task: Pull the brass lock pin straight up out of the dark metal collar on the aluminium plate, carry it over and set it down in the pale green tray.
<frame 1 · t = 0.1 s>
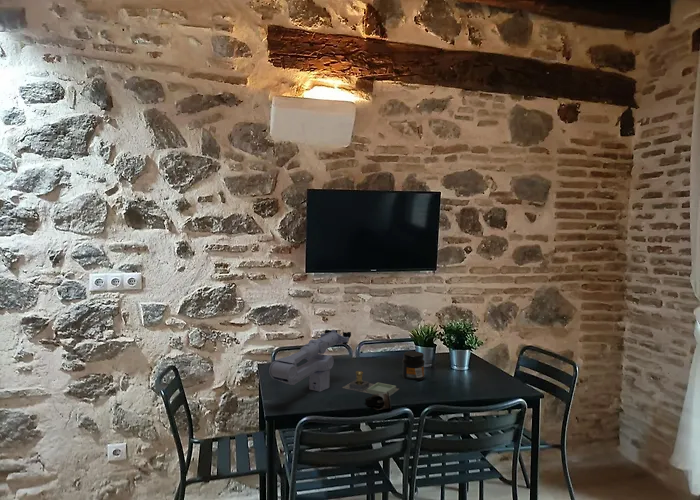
hand: (343, 333, 244), 22 cm above the table, tool horizontal, fingers open, 7 cm apart
tray: (381, 392, 225), resting on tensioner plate
caster wheel: (377, 407, 207), on the table
supplement container: (413, 378, 245), on the table
lock pin: (359, 385, 231), point 1 cm above the table, touching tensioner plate
tensioner collar: (359, 387, 231), resting on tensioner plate
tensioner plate: (370, 390, 227), on the table
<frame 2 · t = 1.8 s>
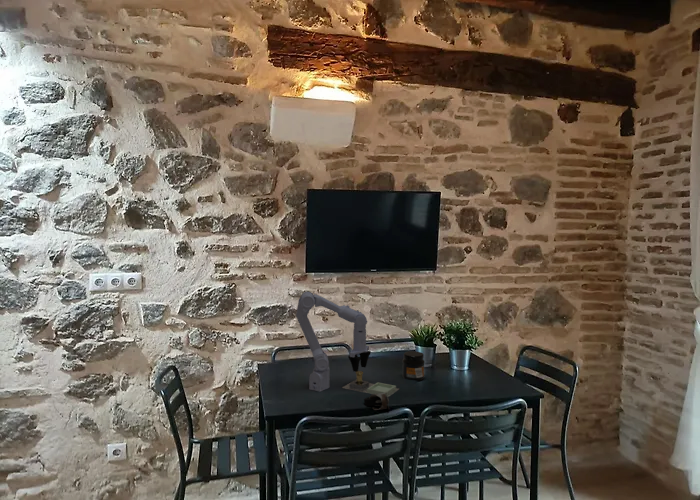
hand: (359, 369, 230), 8 cm above the table, tool pointing down, fingers open, 7 cm apart
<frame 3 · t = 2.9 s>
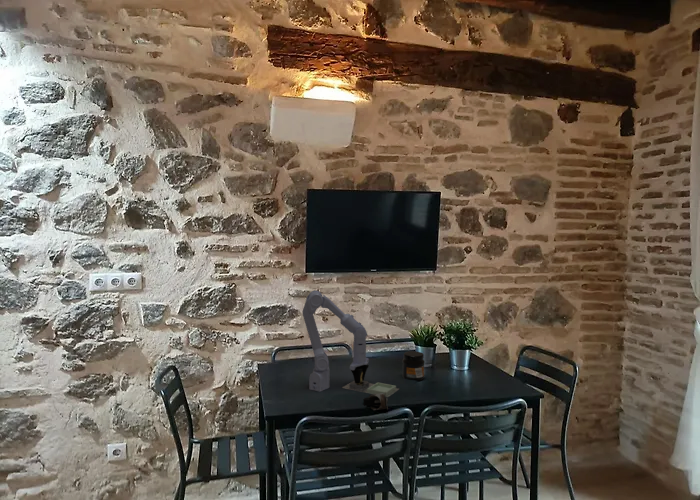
hand: (359, 381, 231), 3 cm above the table, tool pointing down, fingers closed on lock pin, 3 cm apart
lock pin: (359, 385, 231), point 1 cm above the table, touching gripper, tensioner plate
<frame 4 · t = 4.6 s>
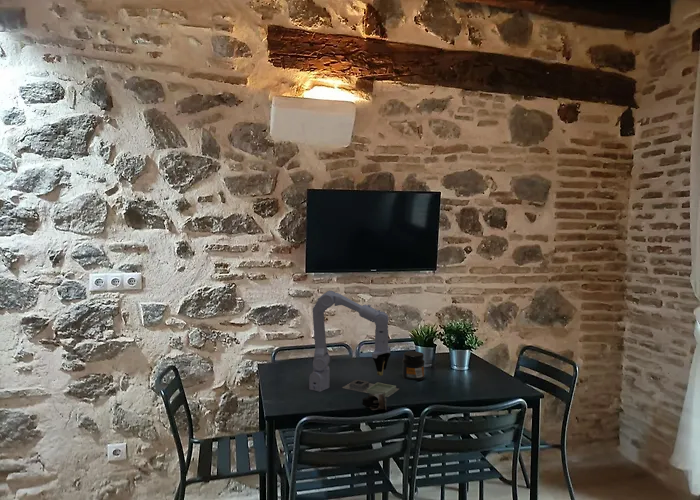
hand: (381, 370, 224), 10 cm above the table, tool pointing down, fingers closed on lock pin, 3 cm apart
lock pin: (380, 374, 225), point 8 cm above the table, tilted 6°, touching gripper
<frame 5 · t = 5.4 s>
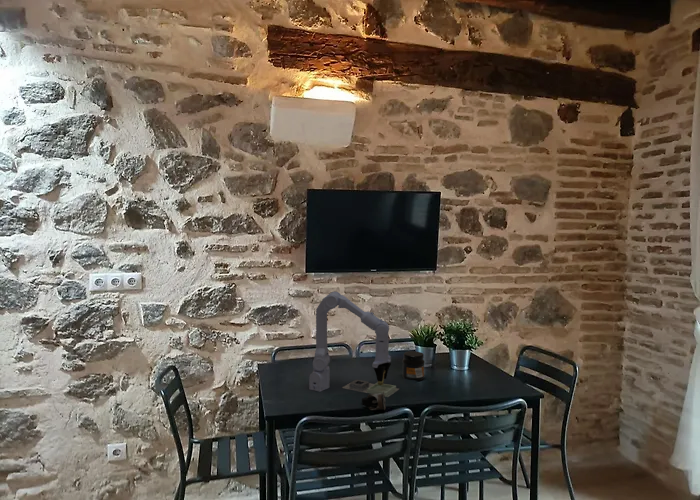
hand: (381, 379, 224), 6 cm above the table, tool pointing down, fingers closed on lock pin, 3 cm apart
lock pin: (380, 383, 225), point 4 cm above the table, tilted 6°, touching gripper
when the fingers open (4 cm above the table, at t = 6.1 s): lock pin stays where it is, resting on tray.
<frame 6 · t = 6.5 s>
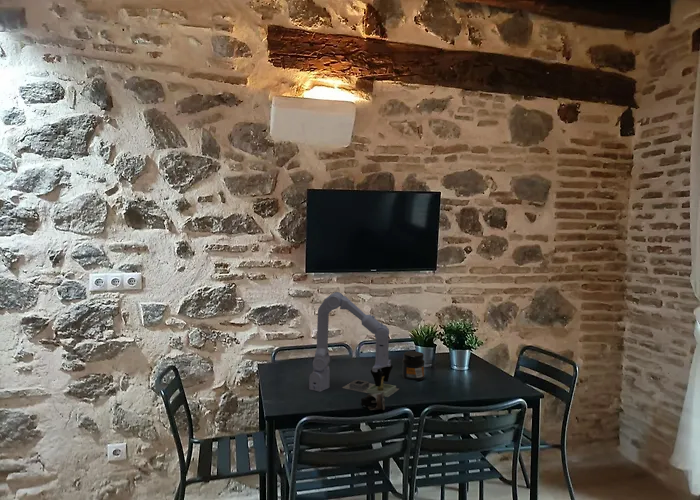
hand: (381, 383, 224), 4 cm above the table, tool pointing down, fingers open, 7 cm apart
lock pin: (380, 389, 225), point 1 cm above the table, touching tray
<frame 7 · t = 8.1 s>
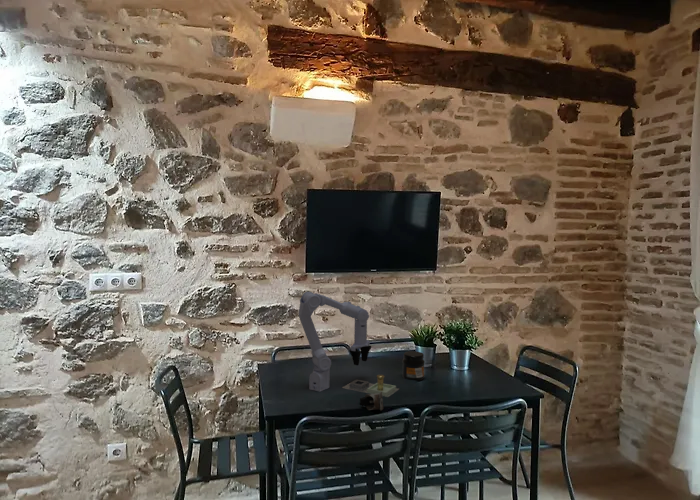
hand: (360, 362, 235), 10 cm above the table, tool pointing down, fingers open, 7 cm apart
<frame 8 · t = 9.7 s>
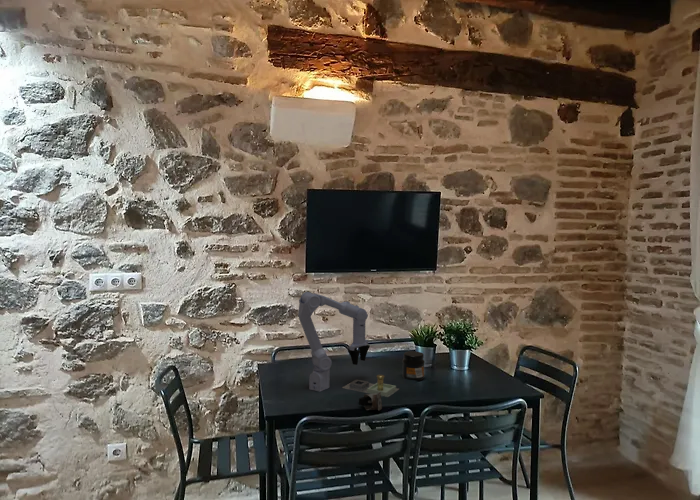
hand: (359, 362, 236), 10 cm above the table, tool pointing down, fingers open, 7 cm apart
at the end: lock pin inside the target area on the tray (0.7 cm from its centre), point 0.9 cm above the tray's base; the gripper is holding nothing; lock pin touching tray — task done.
